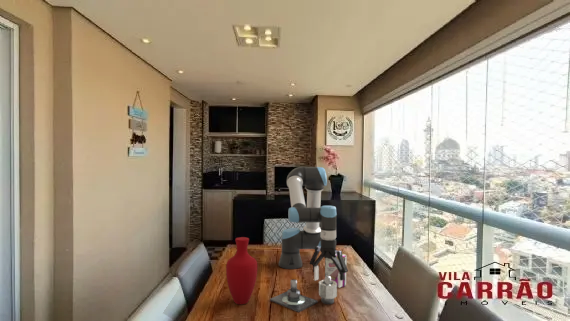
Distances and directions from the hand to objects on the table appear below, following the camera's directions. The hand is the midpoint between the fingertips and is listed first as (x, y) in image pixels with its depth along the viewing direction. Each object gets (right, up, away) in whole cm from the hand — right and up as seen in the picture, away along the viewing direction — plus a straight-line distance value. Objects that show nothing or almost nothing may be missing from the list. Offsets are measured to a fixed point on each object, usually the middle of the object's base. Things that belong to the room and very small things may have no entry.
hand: (327, 283), depth 153 cm
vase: (-41, -9, -1) cm, 42 cm away
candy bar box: (+7, -9, +22) cm, 25 cm away
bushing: (0, -6, 0) cm, 6 cm away
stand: (0, -9, 0) cm, 9 cm away
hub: (-16, -9, 0) cm, 19 cm away
